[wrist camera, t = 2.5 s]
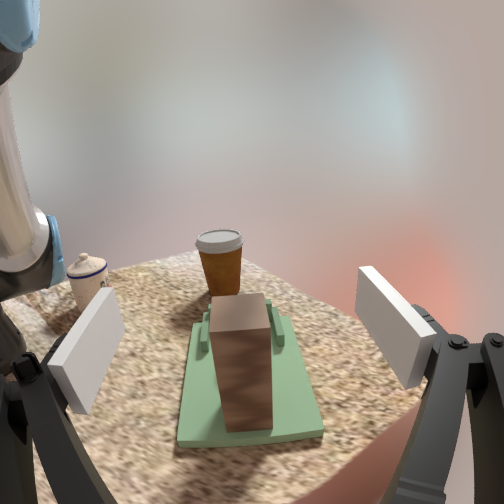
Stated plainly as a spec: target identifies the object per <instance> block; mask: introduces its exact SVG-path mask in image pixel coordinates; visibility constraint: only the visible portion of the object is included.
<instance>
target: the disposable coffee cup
mask: <svg viewBox="0 0 504 504" xmlns="http://www.w3.org/2000/svg"><path fill="white" fill-rule="evenodd" d="M243 242H244V238H243V237H242V235H241V232H239V231H237V230H234V229H215V230H210V231H206V232H203V233H201V234H199V235H198V237H197V242H196V243H195V245H196V247H197V249H198V250H199V254H200V258H201V262H202V266H203V269H204V273H205V277H206V281H207V284H208V288H209V292H210V294H211V295H212V296H215V297H216V296H230V295H235V294H237V293H238V292H239V290H240V272H241V253H242V245H243Z"/></svg>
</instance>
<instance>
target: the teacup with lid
mask: <svg viewBox="0 0 504 504" xmlns="http://www.w3.org/2000/svg"><path fill="white" fill-rule="evenodd" d="M67 276H68V277H69V281H70V284H71V288H72V291H73V294H74V298H75V301H76V304H77V307H78V310H79V311H80V312H81V313H83V311H84V310H85V309H86V307H87V306H88V305H89V303H90V302H91V301H92V299H93V298H94V297H95V295H96V294H97V293H98V291H99V290H100V289H101V288H103V287H111V284H110V280H109V276H108V271H107V263H106V262H105V260H104V259H102V258H94V257H90V256H88V254H87V253H82V254H80V255H79V259H78V260H77V261H76V262H75V263H74V264H72V265H71V266H69V268H68V269H67Z"/></svg>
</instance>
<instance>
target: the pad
mask: <svg viewBox="0 0 504 504" xmlns="http://www.w3.org/2000/svg"><path fill="white" fill-rule="evenodd" d="M265 304H266V308H267V313H268V317H269V322H270V327H271V357H272V399H273V429H270V430H259V431H247V432H232V433H227V430H226V426H225V420H224V415H223V410H222V405H221V400H220V394H219V389H218V383H217V378H216V372H215V366H214V360H213V355H212V348H211V342H210V336H209V325H210V313H211V304H208V312H203V321H202V323H193V328H192V334H191V340H190V347H189V353H188V360H187V367H186V373H185V380H184V387H183V395H182V402H181V410H180V417H179V425H178V434H177V442H178V445H179V447H180V448H209V447H235V446H250V445H261V444H271V443H280V442H288V441H296V440H302V439H309V438H315V437H321V436H323V434H324V426H323V422H322V419H321V416H320V413H319V409H318V406H317V403H316V400H315V396H314V393H313V390H312V387H311V384H310V380H309V377H308V374H307V371H306V368H305V365H304V361H303V358H302V355H301V352H300V349H299V346H298V343H297V339H296V336H295V333H294V330H293V327H292V324H291V321H290V318H289V316H279V313H278V309H277V307H272V303H271V299H267V300H265Z"/></svg>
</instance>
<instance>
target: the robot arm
mask: <svg viewBox="0 0 504 504" xmlns="http://www.w3.org/2000/svg"><path fill="white" fill-rule="evenodd" d="M39 3H40V0H0V302H2V301H5V300H9V299H12V298H15V297H18V296H22V295H25V294H28V293H31V292H35V291H38V290H41V289H49V288H50V287H51V286H53V285H56V284H59V283H61V282H62V281H63V279H64V277H65V267H64V260H63V256H62V246H61V240H60V235H59V230H58V225H57V221H56V218H55V217H54V216H52V215H49V216H48V215H44V214H43V212H42V211H41V210H40V209H38V208H37V207H35V206H34V205H32V202H31V198H30V194H29V191H28V187H27V183H26V179H25V175H24V171H23V167H22V162H21V158H20V153H19V149H18V143H17V138H16V132H15V127H14V120H13V113H12V106H11V98H10V89H9V82H10V81H11V79H12V78H13V77H14V76H15V75H16V73H17V72H18V71H19V69H20V67H21V65H22V61H23V52H24V51H26V50H27V49H28V48H31V47H32V46H33V45H34V44H35V43H36V41H37V38H38V31H39V17H40V16H39ZM355 313H356V314H357V316H358V317H359V319H360V320H361V322H362V323H363V325H364V326H365V328H366V329H367V331H368V332H369V334H370V335H371V337H372V338H373V340H374V341H375V343H376V344H377V346H378V348H379V349H380V351H381V352H382V354H383V355H384V357H385V358H386V360H387V362H388V363H389V365H390V366H391V368H392V369H393V371H394V373H395V374H396V376H397V377H398V379H399V381H400V382H401V384H402V385H403V387H404V389H405V390H406V389H410V388H413V387H416V386H420V384H421V381H422V379H423V376H425V377H426V379H427V380H428V382H427V385H426V388H425V390H424V393H423V395H422V398H421V399H422V401H421V405H420V408H419V411H418V414H417V417H416V420H415V423H414V426H413V428H412V431H411V434H410V437H409V439H408V442H407V444H406V447H405V450H404V452H403V454H402V457H401V460H400V462H399V464H398V466H397V469H396V471H395V473H394V475H393V478H392V480H391V482H390V484H389V486H388V488H387V491H386V493H385V494H384V497H383V498H382V500H381V502H380V504H445V500H446V494H445V493H444V492H443V491H444V487H445V483H446V480H447V477H448V473H449V470H450V467H451V462H452V459H453V455H454V451H455V447H456V442H457V438H458V433H459V429H460V423H461V418H462V412H463V406H464V400H465V393H466V395H467V401H468V408H469V416H470V424H471V433H472V443H473V459H474V486H475V487H474V489H475V490H474V493H475V494H474V496H475V497H474V504H504V336H502V335H500V334H498V333H488V334H486V335H485V337H484V338H483V342H482V343H478V344H477V343H476V344H470V343H469V342H468V341H467V339H466V338H464V337H463V336H460V335H456V334H448V333H447V332H446V331H445V330H444V329H443V328H442V326H440V324H438V322H437V321H435V320H434V318H433V317H432V316H430V314H429V313H428V312H427V311H426V310H425V309H424V308H421V307H420V306H418V305H416V304H414V305H410V304H409V303H408V302H407V301H406V300H405V299H404V298H403V297H402V296H401V295H400V294H399V293H398V292H397V291H396V290H395V289H394V288H393V287H392V286H391V285H390V284H389V283H388V282H387V281H386V280H385V279H384V278H383V277H382V276H381V275H380V274H379V273H378V272H377V271H376V270H375V269H374V268H373V267H372V266H365V267H359V270H358V282H357V293H356V303H355ZM124 332H125V327H124V323H123V320H122V316H121V313H120V309H119V306H118V302H117V298H116V295H115V291H114V287H103V288H101V289H100V290H99V291H98V293H97V294H96V295H95V297H94V298H93V299H92V301H91V302H90V303H89V305H88V306H87V307H86V309H85V310H84V311H83V313H82V314H81V316H80V317H79V318H78V320H77V321H76V323H75V324H74V325H73V327H72V328H71V330H70V331H69V333H64V334H63V335H62V336H60V337H59V338H58V339H57V340H56V341H55V343H54V344H53V347H51V349H50V350H49V352H48V353H47V354H46V356H45V357H44V359H43V360H42V362H41V363H40V364H39V362H38V359H37V357H36V356H35V354H34V353H32V352H26V342H25V340H24V338H23V336H22V334H21V332H20V331H19V330H18V329H17V328H16V326H15V325H14V324H13V322H12V321H11V320H10V319H9V317H8V316H7V315H6V313H5V312H4V311H3V308H2V306H1V303H0V504H38V500H37V493H36V485H35V475H34V463H33V445H32V438H33V441H34V444H35V447H36V450H37V453H38V456H39V458H40V461H41V464H42V467H43V469H44V472H45V474H46V477H47V479H48V482H49V484H50V487H51V489H52V491H53V494H54V496H55V498H56V500H57V502H58V504H118V503H117V502H116V500H115V499H114V497H113V496H112V494H111V493H110V491H109V490H108V488H107V487H106V485H105V483H104V482H103V480H102V478H101V477H100V475H99V473H98V472H97V470H96V468H95V467H94V465H93V463H92V461H91V459H90V458H89V456H88V454H87V452H86V450H85V448H84V446H83V445H82V443H81V441H80V439H79V437H78V435H77V433H76V431H75V429H74V426H73V424H72V422H71V420H70V418H69V416H68V414H67V412H66V411H65V410H66V407H67V405H68V404H69V406H70V408H71V410H72V411H73V413H76V414H84V415H89V412H90V410H91V407H92V405H93V402H94V400H95V397H96V395H97V393H98V390H99V388H100V386H101V383H102V381H103V378H104V376H105V374H106V372H107V369H108V367H109V365H110V362H111V360H112V358H113V356H114V354H115V351H116V349H117V347H118V345H119V343H120V340H121V338H122V336H123V334H124ZM10 371H12V372H13V374H14V376H15V377H16V379H17V381H13V382H8V381H7V380H6V378H5V376H4V375H6V374H7V373H9V372H10Z"/></svg>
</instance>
